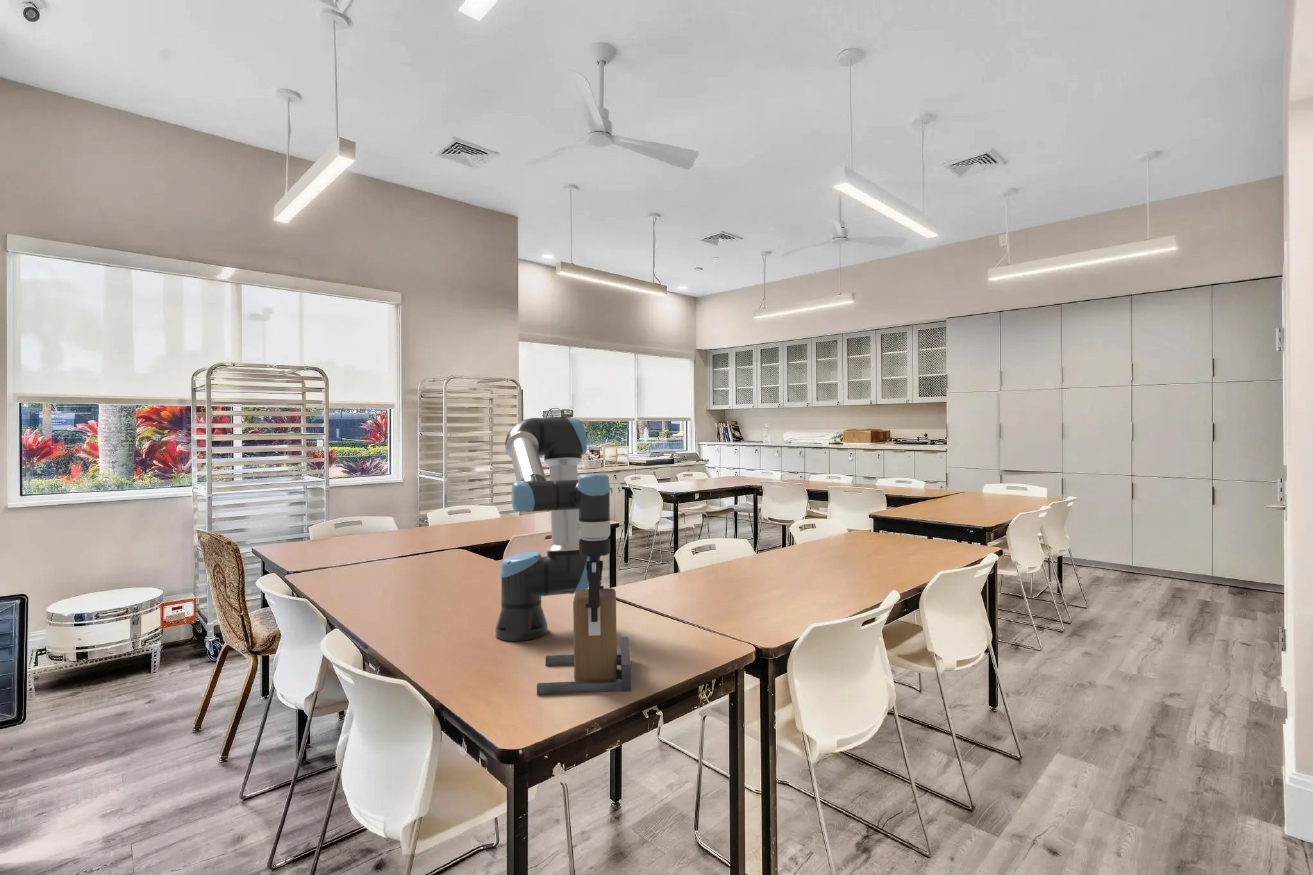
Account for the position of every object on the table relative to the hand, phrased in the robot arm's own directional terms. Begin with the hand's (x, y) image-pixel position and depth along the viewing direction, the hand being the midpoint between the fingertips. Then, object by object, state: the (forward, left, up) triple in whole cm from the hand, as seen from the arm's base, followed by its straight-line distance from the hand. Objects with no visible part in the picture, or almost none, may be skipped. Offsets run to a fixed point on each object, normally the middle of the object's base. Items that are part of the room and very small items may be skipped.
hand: (595, 625), depth 146 cm
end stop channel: (-3, 0, -12) cm, 12 cm away
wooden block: (0, 0, -12) cm, 12 cm away
